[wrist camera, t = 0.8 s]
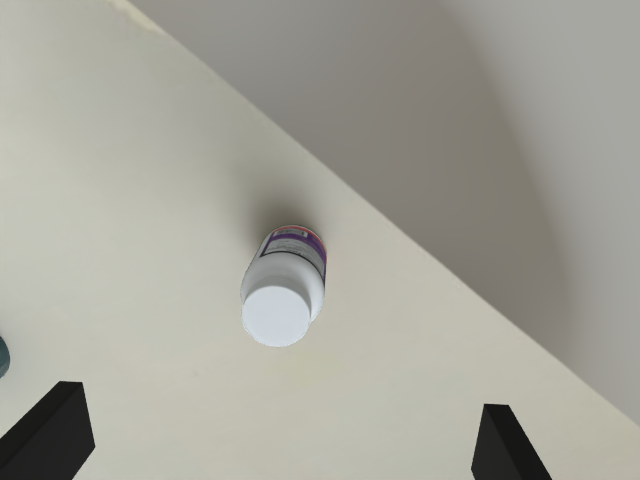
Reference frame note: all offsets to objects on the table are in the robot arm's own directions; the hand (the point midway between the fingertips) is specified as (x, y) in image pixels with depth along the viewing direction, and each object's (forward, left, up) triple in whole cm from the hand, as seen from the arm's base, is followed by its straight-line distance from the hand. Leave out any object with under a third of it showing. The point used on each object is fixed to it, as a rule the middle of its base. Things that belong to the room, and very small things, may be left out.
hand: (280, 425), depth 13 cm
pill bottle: (+1, -2, -19) cm, 19 cm away
